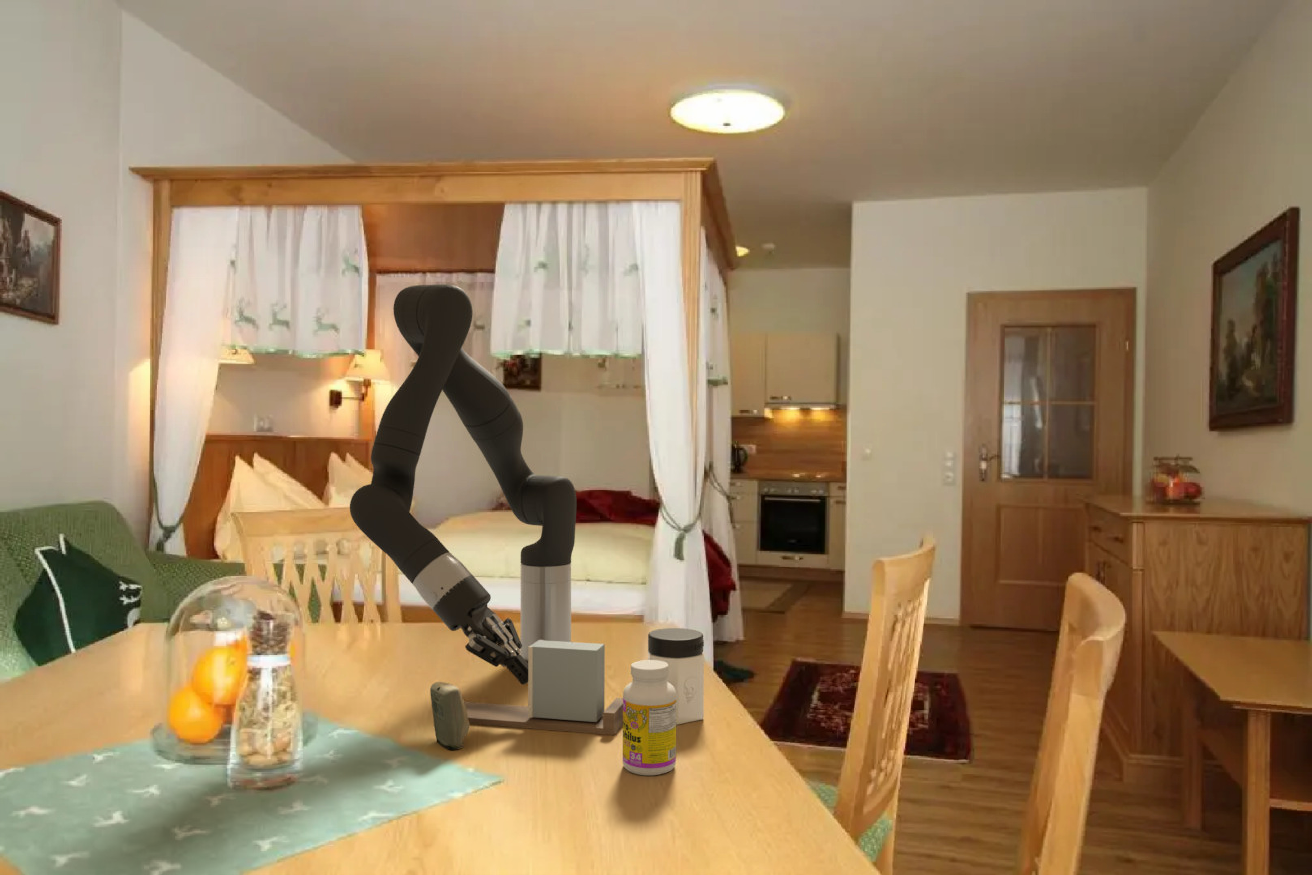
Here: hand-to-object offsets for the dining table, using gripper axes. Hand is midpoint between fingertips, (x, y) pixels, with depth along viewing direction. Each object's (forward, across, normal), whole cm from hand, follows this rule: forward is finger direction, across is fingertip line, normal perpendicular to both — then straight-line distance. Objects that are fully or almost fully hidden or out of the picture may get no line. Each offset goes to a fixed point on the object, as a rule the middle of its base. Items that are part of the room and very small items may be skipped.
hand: (530, 679), depth 133 cm
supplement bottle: (+19, -14, -11) cm, 26 cm away
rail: (+4, 0, +4) cm, 6 cm away
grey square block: (+7, 0, -1) cm, 7 cm away
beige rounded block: (-1, -12, +9) cm, 15 cm away
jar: (+18, +7, -10) cm, 22 cm away
